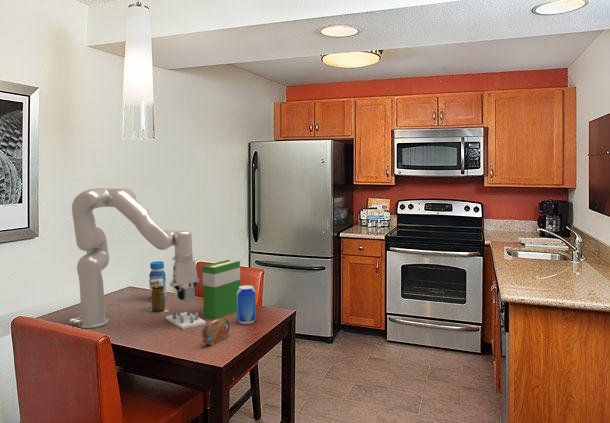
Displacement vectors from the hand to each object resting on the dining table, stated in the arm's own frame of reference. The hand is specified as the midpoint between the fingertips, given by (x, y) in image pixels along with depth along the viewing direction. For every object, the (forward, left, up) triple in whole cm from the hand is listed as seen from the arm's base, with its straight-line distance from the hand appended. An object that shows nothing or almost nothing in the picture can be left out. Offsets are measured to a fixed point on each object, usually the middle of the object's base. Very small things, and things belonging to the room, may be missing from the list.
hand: (185, 297), depth 210 cm
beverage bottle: (+4, +41, -11) cm, 43 cm away
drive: (0, 0, -1) cm, 1 cm away
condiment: (-3, +23, -11) cm, 26 cm away
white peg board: (0, 0, -11) cm, 11 cm away
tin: (-1, -30, -11) cm, 32 cm away
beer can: (+21, -18, -11) cm, 29 cm away
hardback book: (+19, 0, -11) cm, 22 cm away
